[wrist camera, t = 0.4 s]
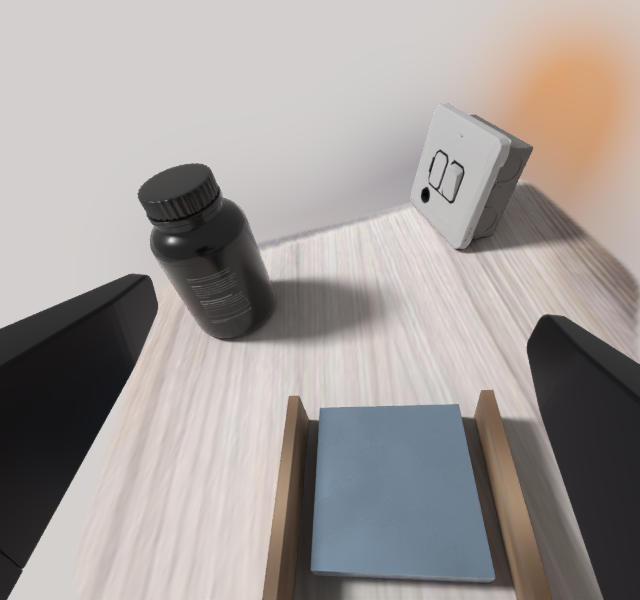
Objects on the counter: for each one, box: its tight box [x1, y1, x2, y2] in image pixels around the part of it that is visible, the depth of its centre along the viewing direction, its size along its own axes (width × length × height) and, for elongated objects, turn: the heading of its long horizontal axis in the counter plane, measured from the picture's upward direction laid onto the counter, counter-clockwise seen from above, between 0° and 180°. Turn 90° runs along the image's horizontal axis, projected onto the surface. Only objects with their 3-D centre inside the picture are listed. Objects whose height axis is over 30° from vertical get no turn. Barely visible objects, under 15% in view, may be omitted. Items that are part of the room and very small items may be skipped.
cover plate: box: [310, 404, 496, 583], centre depth 20 cm, size 8×8×2 cm
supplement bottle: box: [138, 163, 275, 338], centre depth 28 cm, size 7×7×12 cm
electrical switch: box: [410, 103, 533, 249], centre depth 32 cm, size 9×5×9 cm, turn 16°
